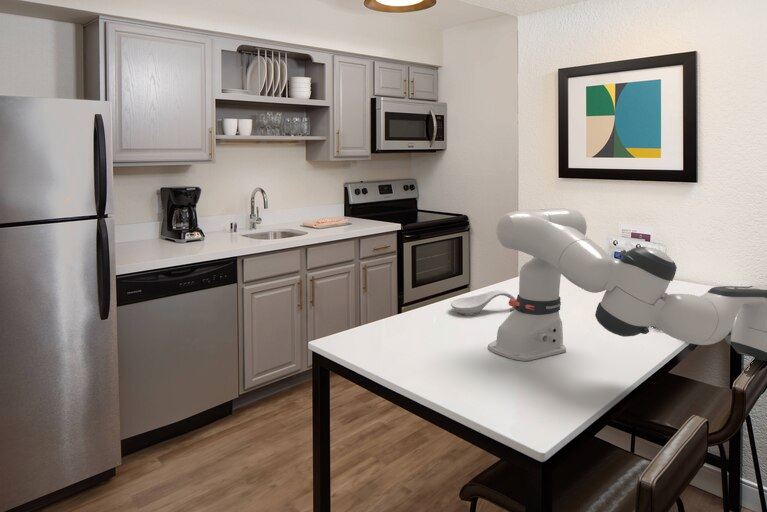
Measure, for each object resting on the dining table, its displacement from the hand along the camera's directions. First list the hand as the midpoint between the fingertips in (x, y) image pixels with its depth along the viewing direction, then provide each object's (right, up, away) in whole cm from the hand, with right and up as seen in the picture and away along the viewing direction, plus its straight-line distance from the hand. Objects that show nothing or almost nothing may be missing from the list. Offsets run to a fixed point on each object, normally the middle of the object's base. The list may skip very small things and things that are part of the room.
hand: (692, 318), depth 163 cm
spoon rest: (-56, -1, +28) cm, 63 cm away
